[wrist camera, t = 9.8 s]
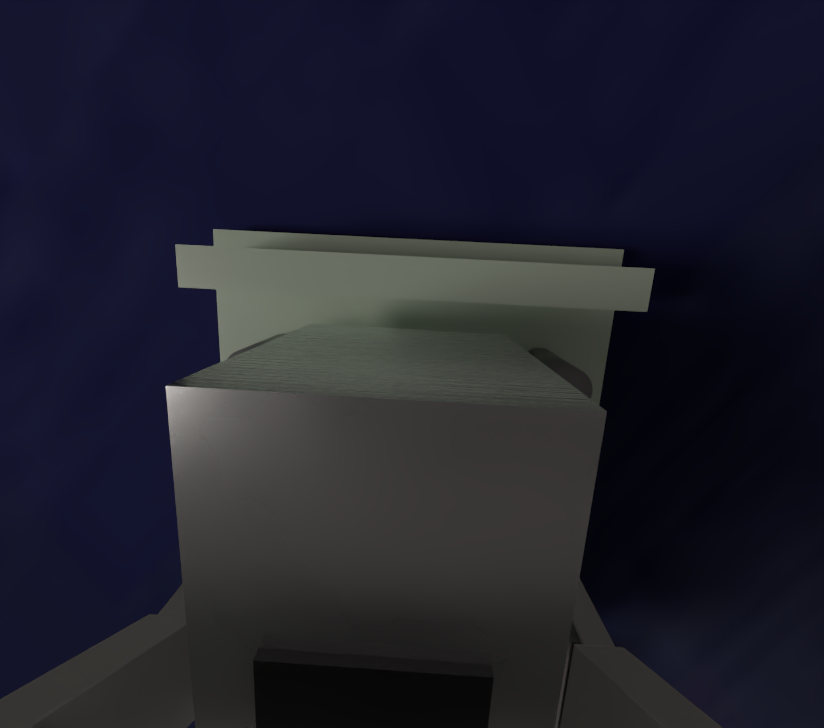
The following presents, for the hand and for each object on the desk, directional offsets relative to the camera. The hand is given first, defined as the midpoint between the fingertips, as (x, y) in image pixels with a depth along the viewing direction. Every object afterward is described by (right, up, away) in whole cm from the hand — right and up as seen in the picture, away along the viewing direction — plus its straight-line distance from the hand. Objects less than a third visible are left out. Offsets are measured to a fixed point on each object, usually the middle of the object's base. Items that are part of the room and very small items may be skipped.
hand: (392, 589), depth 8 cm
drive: (0, 0, +2) cm, 2 cm away
